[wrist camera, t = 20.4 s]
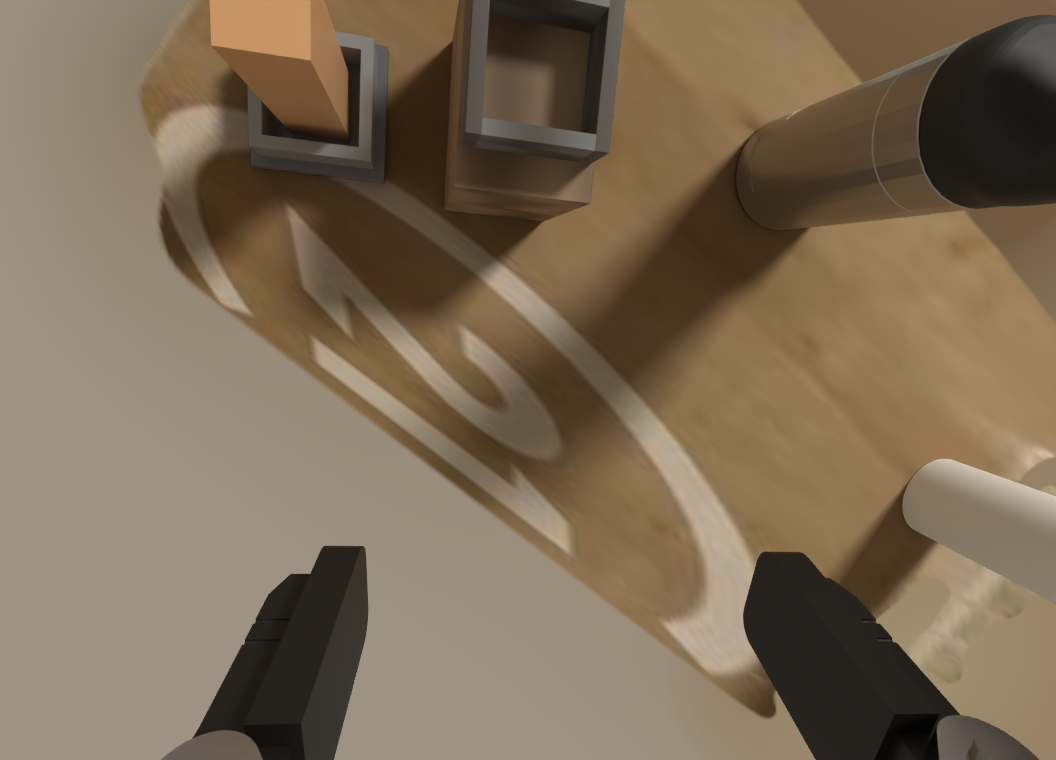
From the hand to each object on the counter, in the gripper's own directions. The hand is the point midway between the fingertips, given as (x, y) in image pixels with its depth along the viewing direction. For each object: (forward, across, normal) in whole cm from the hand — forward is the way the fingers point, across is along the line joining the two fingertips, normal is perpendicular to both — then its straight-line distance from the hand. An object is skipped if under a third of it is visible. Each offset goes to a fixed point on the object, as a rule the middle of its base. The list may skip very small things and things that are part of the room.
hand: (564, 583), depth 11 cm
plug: (+34, +14, -11) cm, 38 cm away
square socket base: (+36, +1, -11) cm, 38 cm away
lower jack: (+35, +14, -11) cm, 39 cm away
